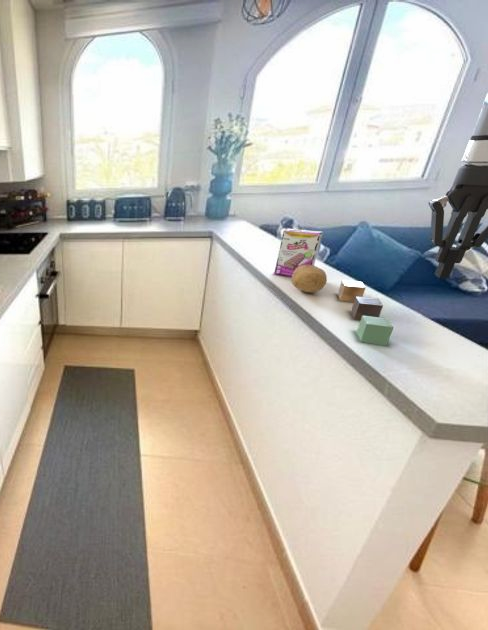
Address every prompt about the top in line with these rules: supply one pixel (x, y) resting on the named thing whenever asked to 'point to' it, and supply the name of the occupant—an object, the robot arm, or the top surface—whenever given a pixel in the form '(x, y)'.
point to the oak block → (350, 290)
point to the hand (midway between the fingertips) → (441, 276)
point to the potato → (309, 278)
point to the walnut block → (366, 307)
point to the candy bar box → (297, 250)
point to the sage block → (374, 330)
